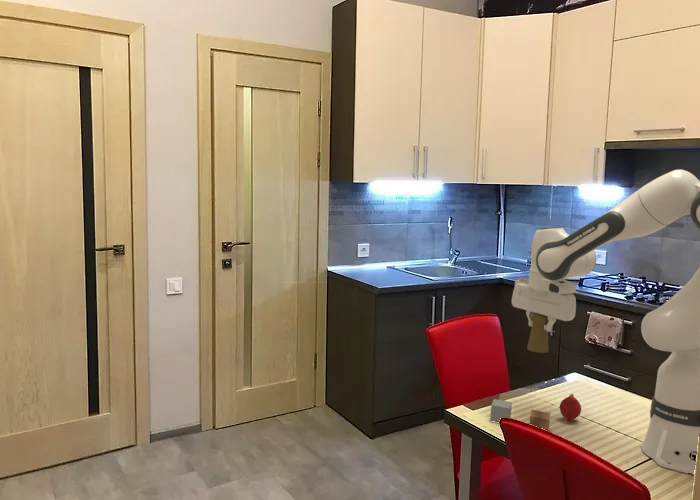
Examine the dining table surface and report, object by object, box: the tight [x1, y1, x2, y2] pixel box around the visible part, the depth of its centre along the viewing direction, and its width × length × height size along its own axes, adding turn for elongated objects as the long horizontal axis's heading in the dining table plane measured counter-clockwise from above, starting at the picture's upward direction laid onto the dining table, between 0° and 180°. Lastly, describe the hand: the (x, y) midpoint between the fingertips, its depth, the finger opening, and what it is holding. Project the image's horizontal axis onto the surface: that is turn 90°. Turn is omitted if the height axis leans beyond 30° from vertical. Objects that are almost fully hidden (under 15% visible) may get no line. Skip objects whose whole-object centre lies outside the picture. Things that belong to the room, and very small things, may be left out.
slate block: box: [489, 398, 513, 422], centre depth 169 cm, size 5×5×5 cm
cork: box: [526, 313, 549, 354], centre depth 174 cm, size 6×6×11 cm
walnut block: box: [529, 409, 551, 431], centre depth 162 cm, size 5×5×5 cm
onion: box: [559, 393, 582, 422], centre depth 171 cm, size 6×6×8 cm
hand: (539, 328), depth 174 cm, fingers closed on cork, 4 cm apart
